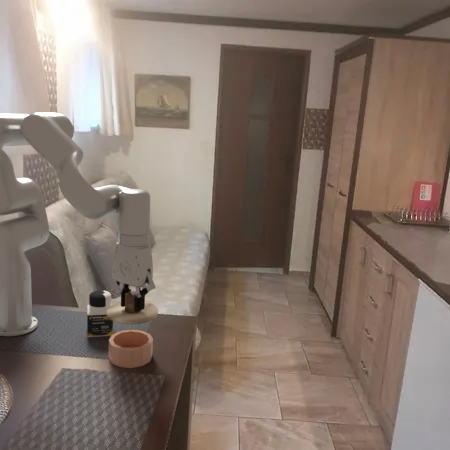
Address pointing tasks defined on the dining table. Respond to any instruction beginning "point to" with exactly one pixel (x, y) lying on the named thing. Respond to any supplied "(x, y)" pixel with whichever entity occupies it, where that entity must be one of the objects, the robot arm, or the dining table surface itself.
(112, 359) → the bowl
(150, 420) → the dining table surface
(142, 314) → the lid
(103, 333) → the medicine bottle
